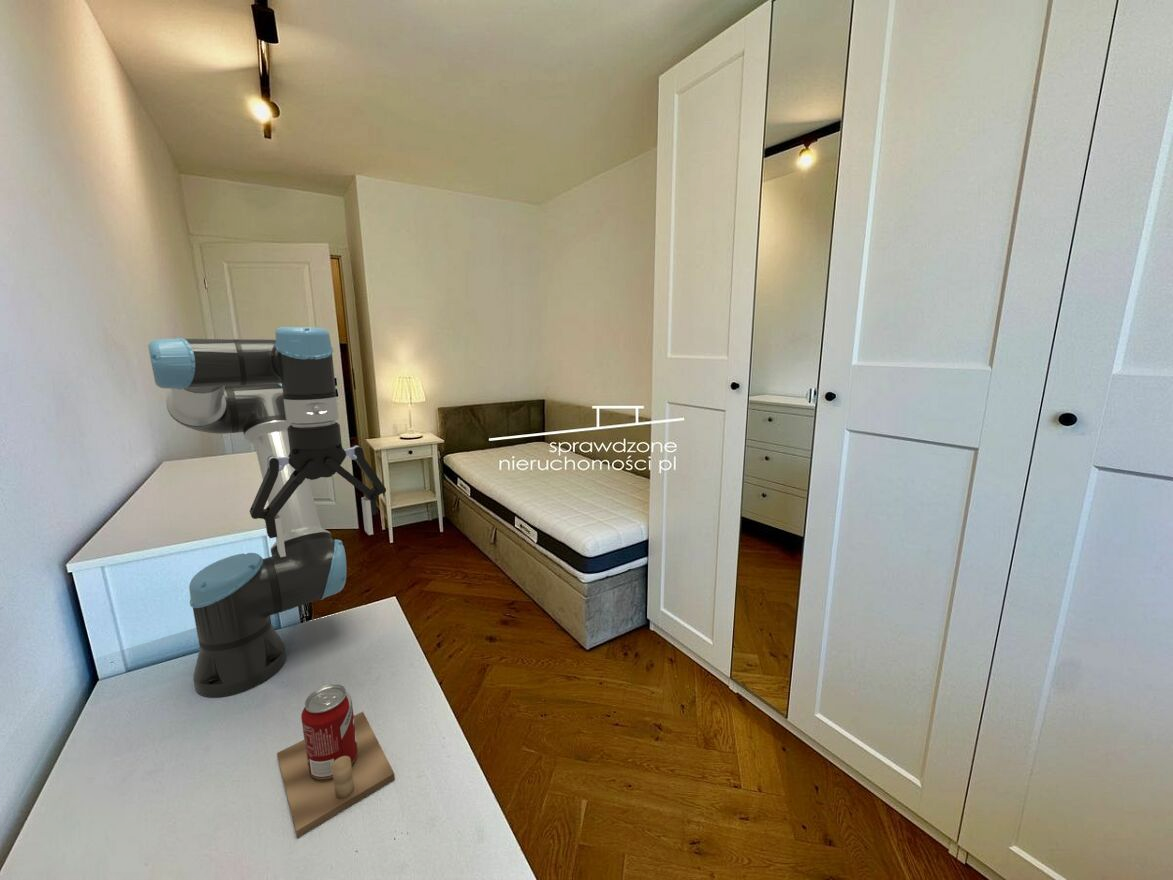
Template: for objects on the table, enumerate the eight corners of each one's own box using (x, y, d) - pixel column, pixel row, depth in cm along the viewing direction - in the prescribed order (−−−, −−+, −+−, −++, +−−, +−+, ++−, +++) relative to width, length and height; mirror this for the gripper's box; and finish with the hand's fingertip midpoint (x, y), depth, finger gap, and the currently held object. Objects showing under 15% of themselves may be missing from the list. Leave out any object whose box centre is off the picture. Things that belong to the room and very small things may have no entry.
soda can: (337, 787, 68) (328, 718, 66) (298, 778, 70) (288, 710, 67) (367, 748, 75) (360, 684, 72) (331, 741, 76) (323, 678, 74)
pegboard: (277, 759, 74) (272, 726, 73) (363, 717, 82) (360, 687, 81) (297, 838, 62) (291, 801, 61) (394, 779, 71) (391, 746, 69)
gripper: (219, 436, 65) (241, 573, 69) (398, 418, 81) (407, 530, 85) (216, 428, 71) (237, 556, 75) (384, 413, 87) (393, 519, 91)
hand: (327, 542), depth 80 cm, fingers open, 13 cm apart
